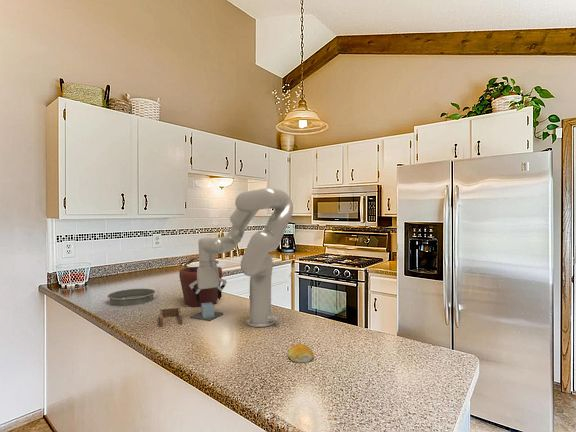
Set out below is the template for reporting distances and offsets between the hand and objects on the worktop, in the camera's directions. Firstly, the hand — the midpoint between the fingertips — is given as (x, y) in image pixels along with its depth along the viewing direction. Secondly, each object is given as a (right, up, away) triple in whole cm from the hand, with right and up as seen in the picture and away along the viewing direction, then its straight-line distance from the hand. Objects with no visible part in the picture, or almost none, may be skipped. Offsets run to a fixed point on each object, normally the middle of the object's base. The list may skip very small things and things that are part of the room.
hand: (209, 300), depth 155 cm
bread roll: (+42, -8, -45) cm, 62 cm away
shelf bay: (-16, -8, -6) cm, 19 cm away
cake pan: (-51, -8, +30) cm, 59 cm away
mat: (-1, -8, 0) cm, 8 cm away
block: (-1, -7, 0) cm, 7 cm away
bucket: (-9, -8, +25) cm, 27 cm away
